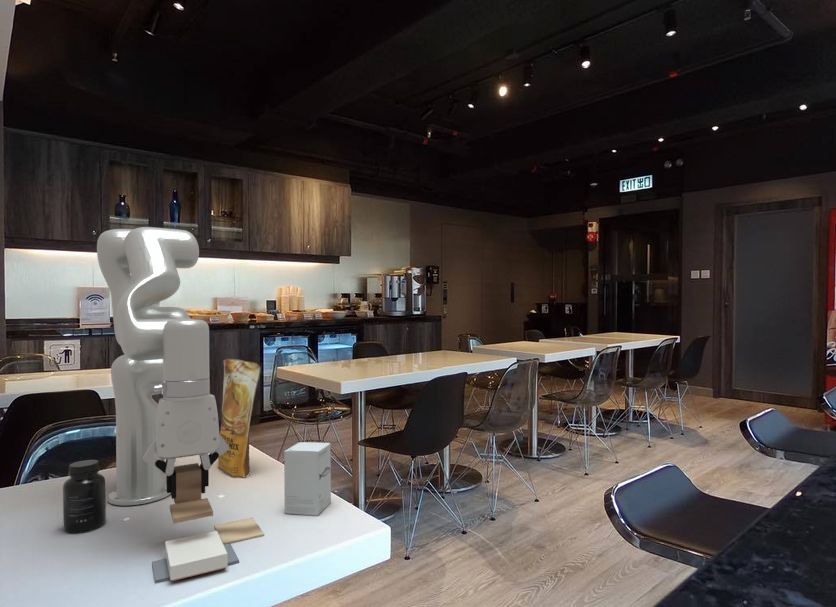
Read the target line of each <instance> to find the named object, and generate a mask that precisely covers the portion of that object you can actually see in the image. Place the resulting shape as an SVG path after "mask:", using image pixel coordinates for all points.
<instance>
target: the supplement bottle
mask: <svg viewBox="0 0 836 607" xmlns="http://www.w3.org/2000/svg"><path fill="white" fill-rule="evenodd" d="M100 470H101V469H100V461H99V460H98V459H97V460H96V459H86V460H80V461H75V462H73V463H70V464H69V465H68V477H69V478H68V479H67V480H66V481H65V482H64V483H63V485H62V511H63V512H62V515H63V516H62V517H63V521H62V522H63V530H64V531H65V532H66V533H69V534H81V533H86V532H90V531H93V530H96V529H99V528H100V527H102V526H103V525H104V524H105V523H106V520H107V507H106V506H107V505H106V504H107V500H106V498H107V494H106V493H107V491H106V489H107V488H106V478H105V476H104V475H103V474H101V473H99V472H100Z"/></svg>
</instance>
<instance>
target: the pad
mask: <svg viewBox="0 0 836 607" xmlns="http://www.w3.org/2000/svg"><path fill="white" fill-rule="evenodd" d="M214 529H215V531H217V532H218V534H219V536H220V539H221V541H222V543H223V545H227V544H234V543H237V542H242V541H246V540H252V539H255V538H259V537H263V536H265V533H264V531H263V530H262V528H261V527H260V525H259V524H258V522H257V521H256V520H255V519H254V517H253V516H252V517H247V518H243V519H238V520H233V521H229V522H223V523H219V524H214Z"/></svg>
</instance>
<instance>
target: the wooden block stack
mask: <svg viewBox="0 0 836 607" xmlns="http://www.w3.org/2000/svg"><path fill="white" fill-rule="evenodd" d="M174 470H175V474H176V497H175V498H174V499H173V501H174V503H172V504H169V511H170V514H171V519H172V522H173V524H178V523H183V522H187V521H193V520H198V519H204V518H208V517H213V516H214V510H213V508H212V506H211V503H210V501H209V499H208V498H207V497H206V498H202V493H201V468H200V464H199V463H198V462H195V463H189V464H183V465H175V466H174Z"/></svg>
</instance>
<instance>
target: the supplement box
mask: <svg viewBox="0 0 836 607" xmlns="http://www.w3.org/2000/svg"><path fill="white" fill-rule="evenodd" d="M283 452H284V453H283V455H284V458H283V459H284V460H283V461H284V469H283V470H284V472H283V473H284V514H287V515H289V514H290V515H300V516H314V517H315V516H316V517H317V516H319V515H320V514H321V513H322V512H323V510H325V508H327V507H328V506H329V505H330V504H331V503H332V482H331V481H332V480H331V479H332V474H331V473H332V472H331V471H332V463H331V452H332V451H331V443H330V442H314V441H313V442H307V441H306V442H304V441H303V442H301V441H300V442H297V443H295V444H294V445H292V446H290V447H289V448H288V449H287V448H286V449H285V450H284V451H283Z"/></svg>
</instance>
